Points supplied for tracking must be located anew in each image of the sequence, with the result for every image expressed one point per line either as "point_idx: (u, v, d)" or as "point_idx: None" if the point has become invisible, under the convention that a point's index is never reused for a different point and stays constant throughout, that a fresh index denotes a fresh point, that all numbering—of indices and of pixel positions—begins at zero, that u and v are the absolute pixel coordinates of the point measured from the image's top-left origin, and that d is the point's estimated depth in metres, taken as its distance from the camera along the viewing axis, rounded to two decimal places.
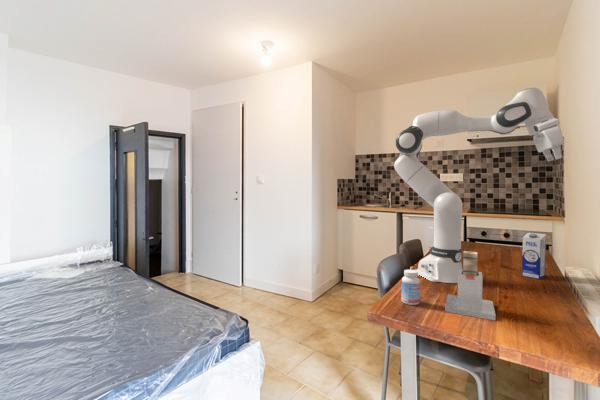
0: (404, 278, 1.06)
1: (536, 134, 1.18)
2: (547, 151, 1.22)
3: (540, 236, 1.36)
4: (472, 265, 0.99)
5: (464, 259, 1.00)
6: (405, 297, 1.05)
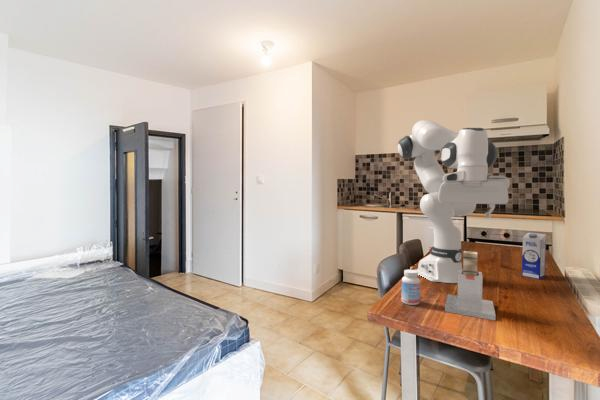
0: (404, 278, 1.06)
1: None
2: None
3: (540, 236, 1.36)
4: (472, 265, 0.99)
5: (464, 259, 1.00)
6: (405, 297, 1.05)
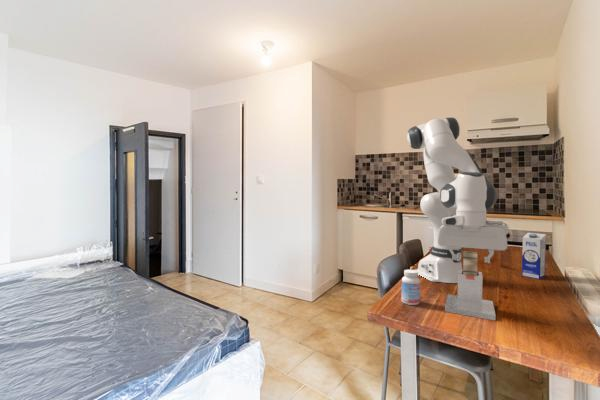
0: (404, 278, 1.06)
1: None
2: None
3: (540, 236, 1.36)
4: (472, 265, 0.99)
5: (464, 259, 1.00)
6: (405, 297, 1.05)
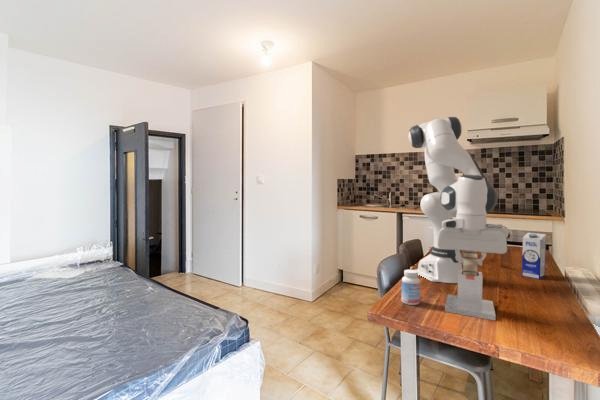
0: (404, 278, 1.06)
1: None
2: (481, 253, 0.99)
3: (540, 236, 1.36)
4: (472, 265, 0.99)
5: (464, 259, 1.00)
6: (405, 297, 1.05)
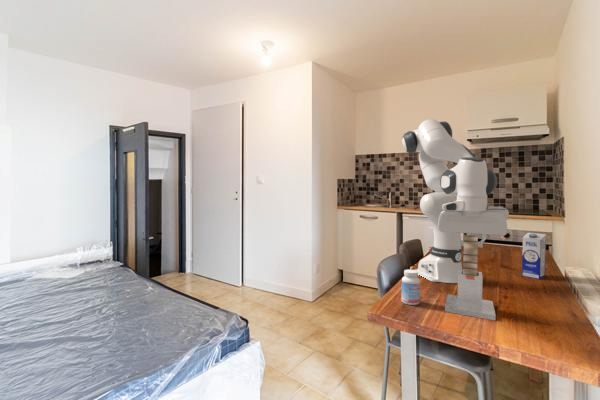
0: (404, 278, 1.06)
1: None
2: None
3: (540, 236, 1.36)
4: (472, 248, 0.99)
5: (464, 243, 1.00)
6: (405, 297, 1.05)
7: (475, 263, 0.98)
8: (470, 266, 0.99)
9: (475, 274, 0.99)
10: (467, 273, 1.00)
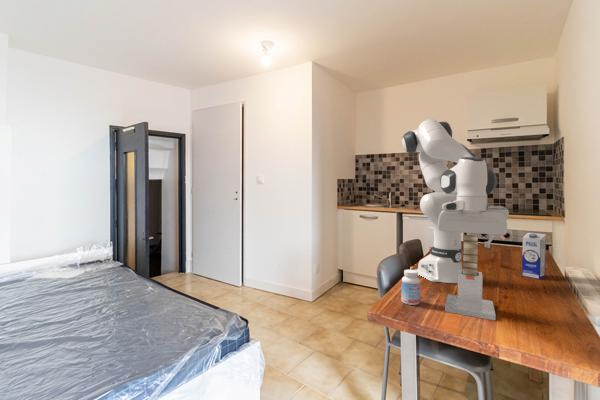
0: (404, 278, 1.06)
1: None
2: None
3: (540, 236, 1.36)
4: (472, 248, 0.99)
5: (464, 242, 1.00)
6: (405, 297, 1.05)
7: (475, 263, 0.98)
8: (470, 266, 0.99)
9: (475, 274, 0.99)
10: (467, 273, 1.00)
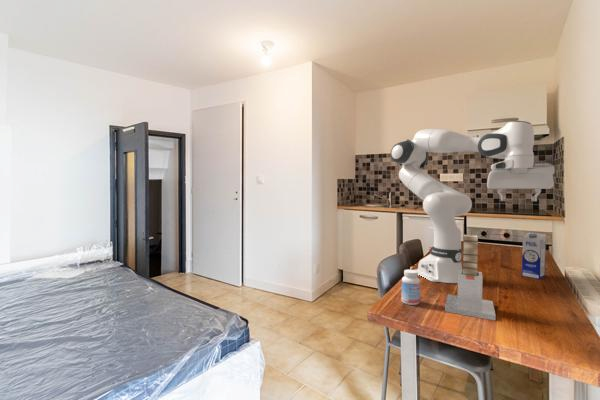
0: (404, 278, 1.06)
1: None
2: (535, 190, 1.10)
3: (540, 236, 1.36)
4: (472, 248, 0.99)
5: (464, 242, 1.00)
6: (405, 297, 1.05)
7: (475, 263, 0.98)
8: (470, 266, 0.99)
9: (475, 274, 0.99)
10: (467, 273, 1.00)
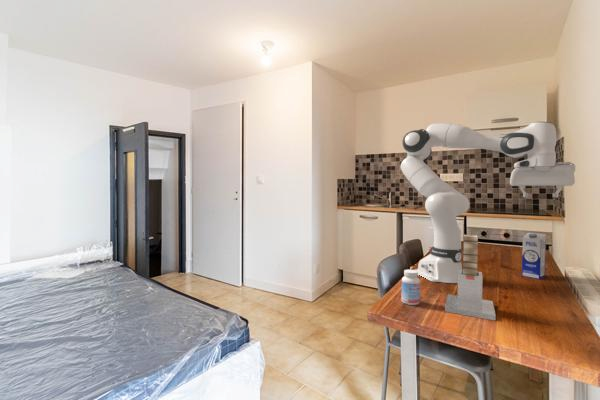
0: (404, 278, 1.06)
1: None
2: (557, 187, 1.18)
3: (540, 236, 1.36)
4: (472, 248, 0.99)
5: (464, 242, 1.00)
6: (405, 297, 1.05)
7: (475, 263, 0.98)
8: (470, 266, 0.99)
9: (475, 274, 0.99)
10: (467, 273, 1.00)
